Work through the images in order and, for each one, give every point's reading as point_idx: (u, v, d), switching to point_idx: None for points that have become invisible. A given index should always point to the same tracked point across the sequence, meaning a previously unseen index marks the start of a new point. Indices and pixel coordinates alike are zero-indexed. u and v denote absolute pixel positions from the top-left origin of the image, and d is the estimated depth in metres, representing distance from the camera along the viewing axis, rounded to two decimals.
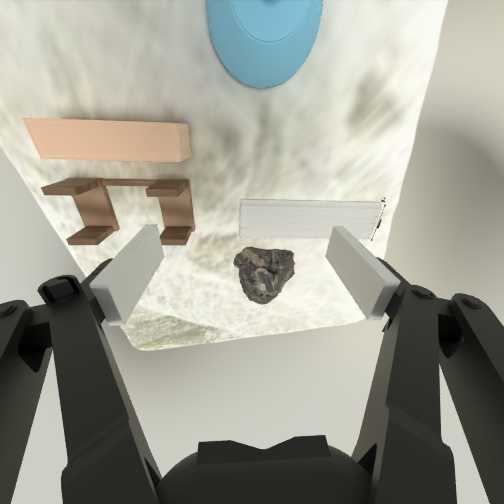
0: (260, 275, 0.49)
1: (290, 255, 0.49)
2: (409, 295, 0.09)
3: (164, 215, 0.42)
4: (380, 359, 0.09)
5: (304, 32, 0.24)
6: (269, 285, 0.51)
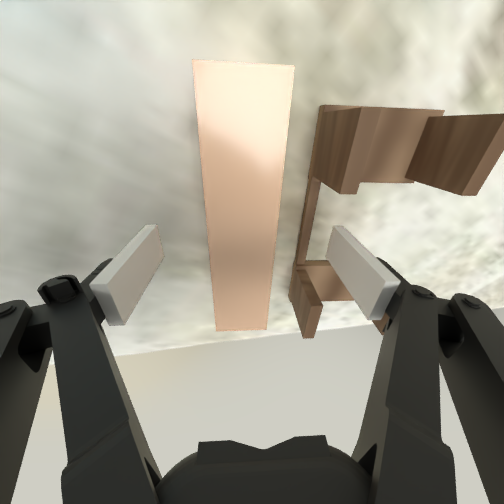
0: None
1: None
2: (409, 295, 0.09)
3: (381, 178, 0.20)
4: (380, 359, 0.09)
5: None
6: None
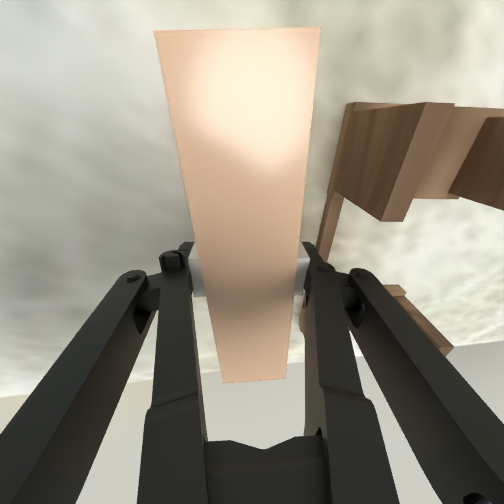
0: None
1: None
2: (315, 272, 0.11)
3: (419, 194, 0.16)
4: (306, 336, 0.09)
5: None
6: None
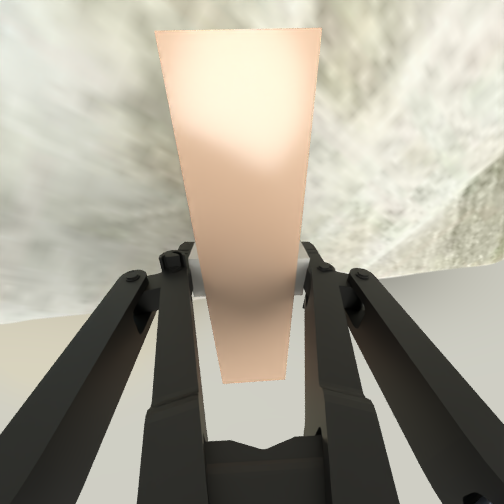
0: None
1: None
2: (316, 272, 0.11)
3: None
4: (306, 336, 0.09)
5: None
6: None
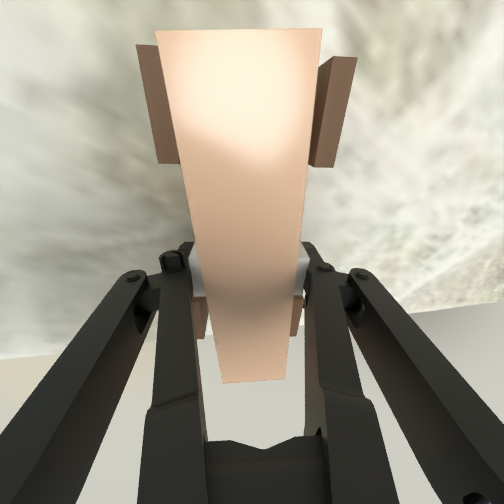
0: None
1: None
2: (315, 272, 0.11)
3: None
4: (306, 336, 0.09)
5: None
6: None
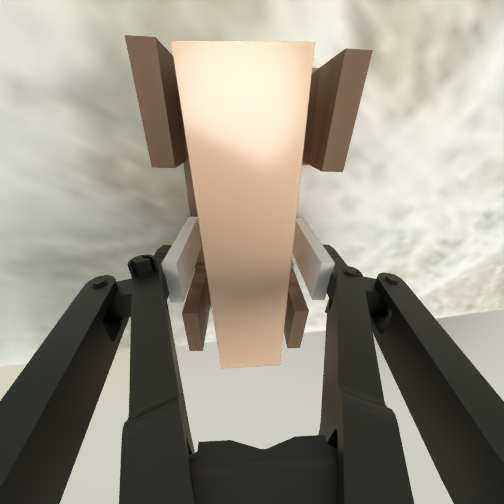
0: None
1: None
2: (341, 276, 0.10)
3: None
4: (327, 340, 0.09)
5: None
6: None
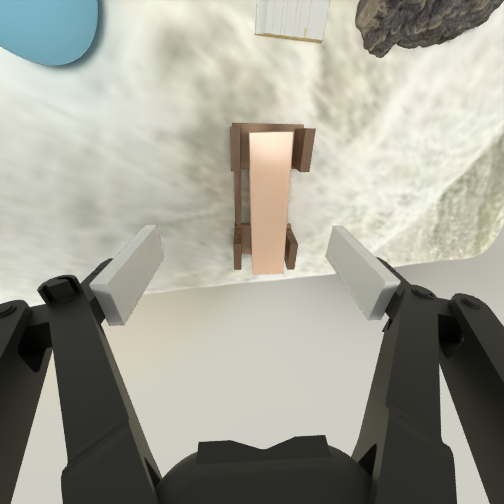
0: None
1: None
2: (409, 295, 0.09)
3: None
4: (380, 359, 0.09)
5: None
6: None
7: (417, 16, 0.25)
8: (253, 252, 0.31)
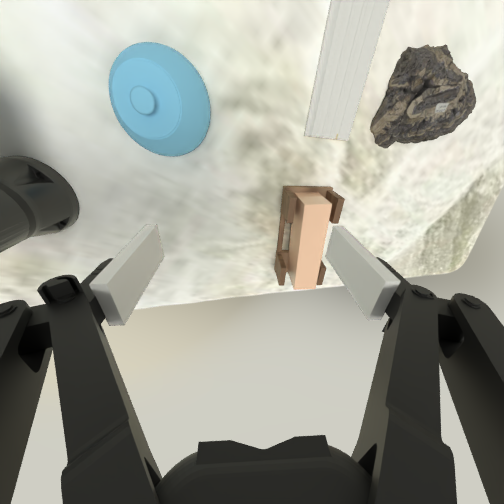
0: (419, 110, 0.36)
1: (409, 53, 0.33)
2: (409, 295, 0.09)
3: None
4: (380, 359, 0.09)
5: (166, 62, 0.27)
6: (444, 94, 0.35)
7: (409, 129, 0.39)
8: (296, 275, 0.45)
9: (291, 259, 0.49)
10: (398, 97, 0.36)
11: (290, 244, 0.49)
